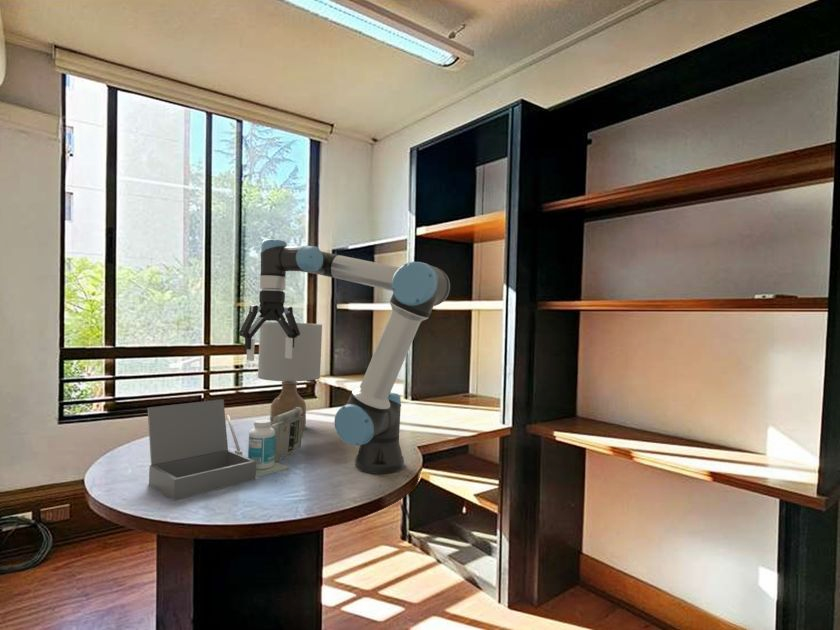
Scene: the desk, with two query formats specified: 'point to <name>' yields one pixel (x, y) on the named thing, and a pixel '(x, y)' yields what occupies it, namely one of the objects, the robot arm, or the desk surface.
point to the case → (194, 450)
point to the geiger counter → (287, 432)
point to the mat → (271, 469)
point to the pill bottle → (262, 444)
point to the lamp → (289, 363)
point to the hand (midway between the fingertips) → (270, 359)
